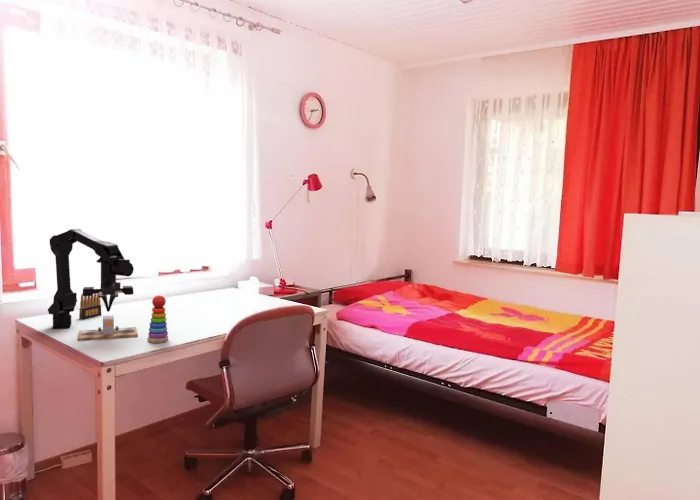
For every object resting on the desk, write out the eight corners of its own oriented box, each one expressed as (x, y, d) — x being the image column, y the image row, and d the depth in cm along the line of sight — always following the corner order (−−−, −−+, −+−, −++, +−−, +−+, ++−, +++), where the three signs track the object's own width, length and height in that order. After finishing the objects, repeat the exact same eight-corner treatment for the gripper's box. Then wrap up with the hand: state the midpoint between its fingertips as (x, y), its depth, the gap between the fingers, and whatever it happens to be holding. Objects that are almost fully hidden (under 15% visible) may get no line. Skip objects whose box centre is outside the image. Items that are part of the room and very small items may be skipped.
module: (103, 335, 210) (103, 320, 209) (102, 330, 216) (102, 316, 216) (113, 334, 212) (113, 319, 211) (113, 329, 218) (113, 315, 217)
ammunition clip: (98, 314, 246) (98, 290, 244) (101, 315, 245) (101, 290, 244) (79, 319, 236) (79, 293, 235) (82, 319, 235) (81, 294, 234)
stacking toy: (143, 342, 206) (143, 296, 204) (154, 337, 214) (154, 292, 212) (161, 344, 205) (162, 298, 203) (171, 339, 213) (172, 294, 211)
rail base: (77, 340, 204) (77, 333, 204) (78, 332, 215) (78, 325, 214) (137, 336, 214) (138, 329, 213) (136, 329, 224) (136, 322, 224)
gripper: (82, 277, 200) (82, 317, 202) (134, 276, 208) (134, 314, 210) (83, 273, 210) (83, 310, 212) (132, 272, 218) (132, 308, 220)
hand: (108, 311), depth 213 cm, fingers closed
